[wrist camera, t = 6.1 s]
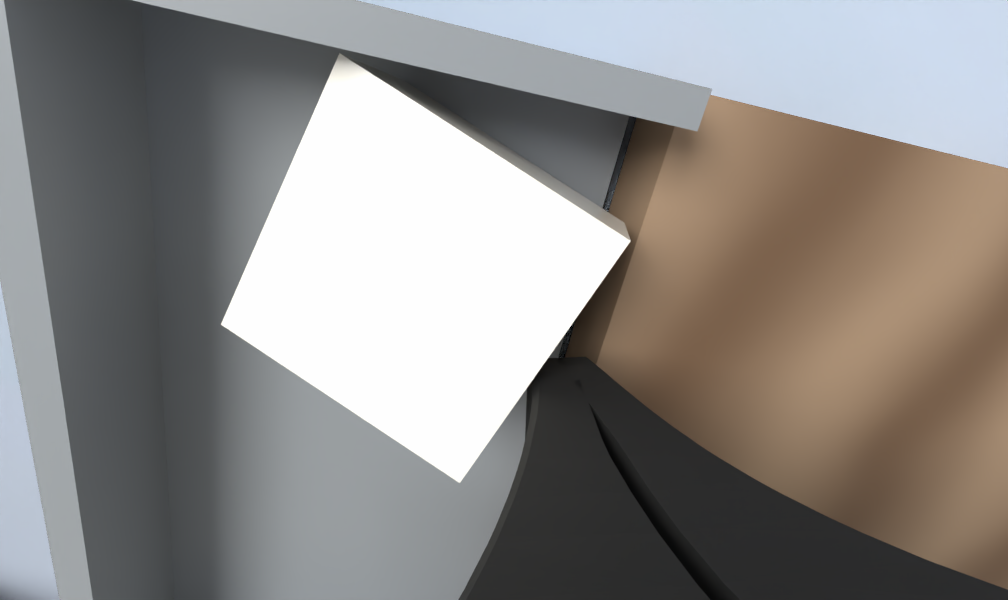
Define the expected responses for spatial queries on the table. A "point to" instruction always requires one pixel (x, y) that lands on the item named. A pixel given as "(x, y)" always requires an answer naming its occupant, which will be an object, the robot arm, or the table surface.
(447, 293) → the cream tile
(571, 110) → the box
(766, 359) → the walnut plate
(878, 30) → the table surface
